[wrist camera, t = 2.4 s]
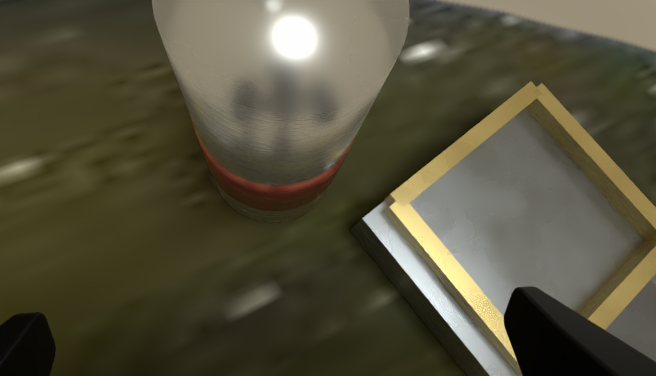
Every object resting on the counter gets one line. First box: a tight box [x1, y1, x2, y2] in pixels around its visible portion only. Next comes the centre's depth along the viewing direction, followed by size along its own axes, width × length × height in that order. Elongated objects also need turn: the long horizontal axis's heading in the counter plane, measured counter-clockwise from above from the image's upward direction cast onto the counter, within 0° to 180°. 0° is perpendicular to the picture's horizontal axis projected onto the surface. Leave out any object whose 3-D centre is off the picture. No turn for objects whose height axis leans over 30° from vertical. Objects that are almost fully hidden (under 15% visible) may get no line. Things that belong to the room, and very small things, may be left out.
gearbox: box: [350, 82, 656, 376], centre depth 21 cm, size 21×11×4 cm, turn 39°
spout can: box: [152, 0, 409, 223], centre depth 16 cm, size 6×6×15 cm
